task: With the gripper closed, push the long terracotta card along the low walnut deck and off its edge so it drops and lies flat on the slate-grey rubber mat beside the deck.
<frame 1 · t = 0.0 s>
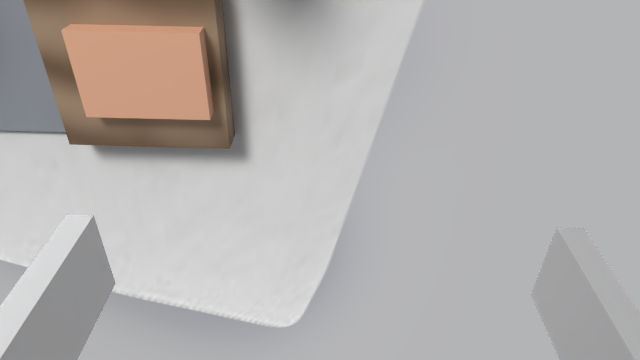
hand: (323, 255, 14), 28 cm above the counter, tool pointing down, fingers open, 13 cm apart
card: (145, 70, 38), point 2 cm above the counter, touching deck
deck: (143, 58, 40), on the counter
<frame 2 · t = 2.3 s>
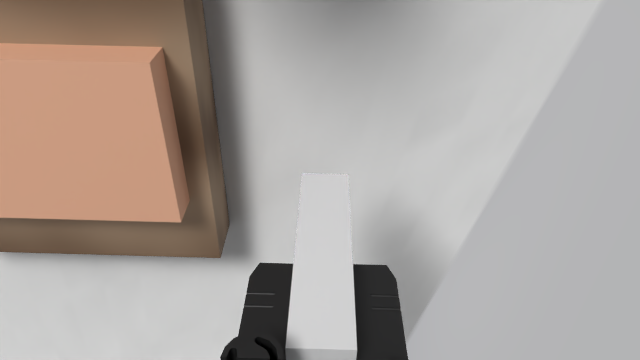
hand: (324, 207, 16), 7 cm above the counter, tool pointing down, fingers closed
card: (54, 128, 19), point 2 cm above the counter, touching deck
deck: (58, 100, 21), on the counter
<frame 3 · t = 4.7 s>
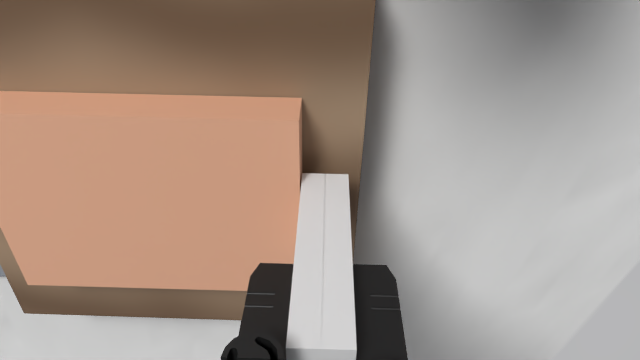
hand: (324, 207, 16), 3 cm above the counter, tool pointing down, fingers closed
card: (159, 186, 17), point 3 cm above the counter
deck: (177, 149, 19), on the counter
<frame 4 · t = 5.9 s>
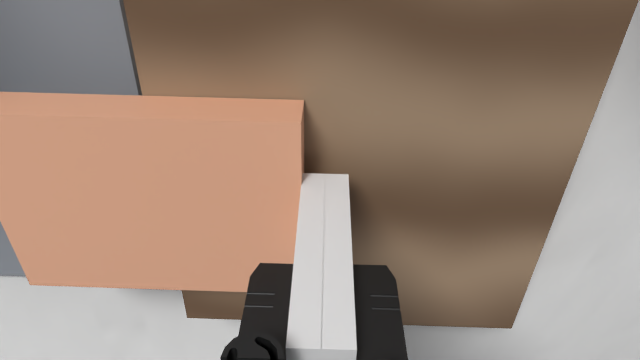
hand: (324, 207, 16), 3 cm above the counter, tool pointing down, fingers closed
card: (161, 187, 17), point 3 cm above the counter, touching gripper
deck: (357, 154, 19), on the counter
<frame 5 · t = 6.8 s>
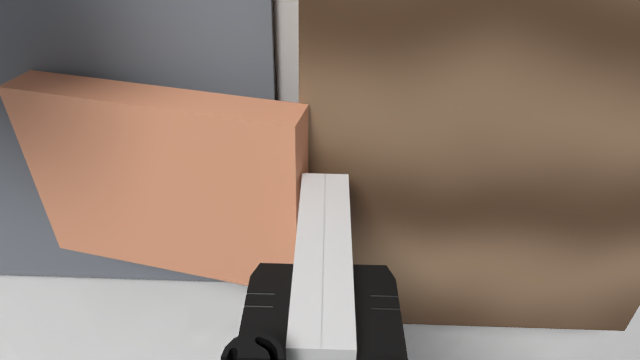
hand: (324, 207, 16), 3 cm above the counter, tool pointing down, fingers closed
mat: (23, 143, 19), on the counter
card: (177, 174, 18), point 1 cm above the counter, tilted 13°, touching gripper
deck: (481, 157, 19), on the counter
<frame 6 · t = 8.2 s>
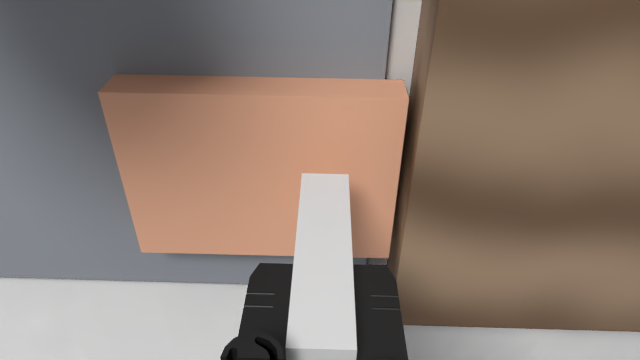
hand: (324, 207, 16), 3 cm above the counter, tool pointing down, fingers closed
mat: (121, 148, 19), on the counter
card: (264, 162, 19), resting on mat
deck: (581, 160, 19), on the counter
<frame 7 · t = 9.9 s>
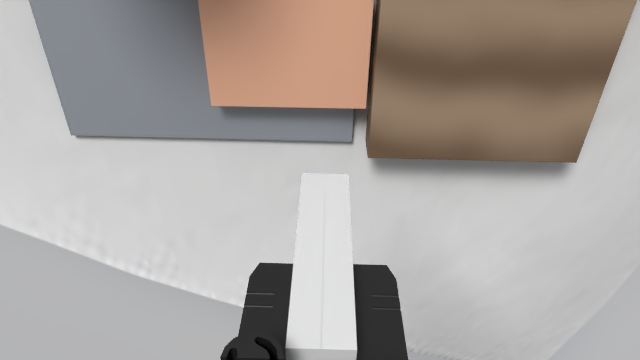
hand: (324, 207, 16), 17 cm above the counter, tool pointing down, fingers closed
mat: (200, 39, 31), on the counter
card: (288, 46, 30), resting on mat
deck: (483, 45, 30), on the counter
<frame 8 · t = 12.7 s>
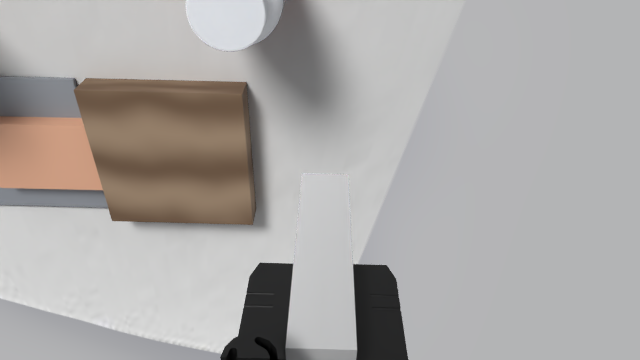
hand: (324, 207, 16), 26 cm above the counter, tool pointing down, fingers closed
card: (48, 150, 46), resting on mat
deck: (178, 149, 46), on the counter
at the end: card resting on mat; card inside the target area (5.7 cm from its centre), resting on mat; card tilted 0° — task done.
